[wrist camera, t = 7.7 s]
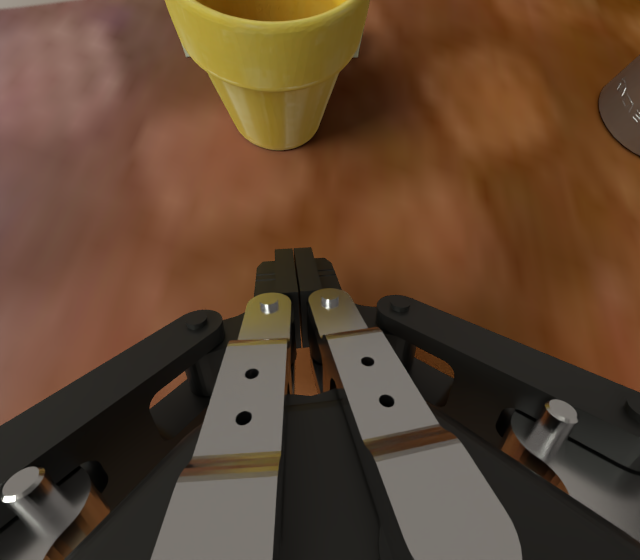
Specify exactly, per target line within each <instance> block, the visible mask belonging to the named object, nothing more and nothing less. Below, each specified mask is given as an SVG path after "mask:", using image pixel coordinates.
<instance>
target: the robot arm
mask: <svg viewBox="0 0 640 560" xmlns="http://www.w3.org/2000/svg"><path fill="white" fill-rule="evenodd" d="M599 110H600V113H601V116H602V119H603V121H604V123H605V125H606V127H607V128H608V130H609V131H610V132H611V133H612V135H613V136H614V137H615V138H616V139H617V140H618V141H619V142H620V143H621V144H622V145H624V146H625V147H626V148H628V149H629V150H631V151H632V152H634V153H636V154H638V155H640V55H639V56H638V57H637V58H636V59H634V60H633V61H632V62H631V63H630V64H629V65H628V66H627V67H626V68H625V69H623V70H622V71H621V72H620V73H619V74H618V75H617V76H616V77H615V78H613V79H612V80H611V81H610V82H609V83H608V84H607V85H606V86H605V87H604V88H603V90H602V92H601V93H600V98H599ZM300 328H301V336H302V344H303V348H305V347H309V348H310V363H311V368H312V372H313V376H314V380H315V384H316V388H317V392H318V395H314V396H304V395H295V359H296V355H297V353H296V348H301V336H300ZM416 346H417V347H419V348H420V349H422V350H424V351H426V352H428V353H430V354H432V355H434V356H436V357H438V358H440V359H442V360H444V361H445V362H447V363H448V364H449V365H450V366H451V367H452V369H453V371H454V375H455V376H454V379H453V378H451V377H450V376H448V375H446V374H444V373H442V372H440V371H439V370H437V369H435V368H433V367H431V366H429V365H427V364H426V363H424V362H422V361H420V360H418V359H416V358H415V357H414V356H415V350H416ZM184 371H185V373H186V376H187V380H186V381H184V382H183V383H182V384H181V385H179V386H178V387H177V388H176V389H174V390H173V391H172V392H171V393H169V394H168V395H167V396H166V397H164V398H163V399H162V400H161V401H159V402H158V403H157V404H156V405H154V406H153V407H152V408H151V409H149V406H150V402H151V400H152V398H153V397H154V395H155V394H156V393H157V392H158V391H159V390H160V389H162V388H163V387H164V386H166V385H167V384H168V383H170V382H171V381H172V380H173V379H175V378H176V377H177V376H179V375H180V374H181V373H183V372H184ZM0 560H640V393H639V392H637V391H635V390H632V389H630V388H627V387H625V386H623V385H620V384H618V383H615V382H613V381H610V380H608V379H606V378H603V377H601V376H598V375H596V374H593V373H591V372H589V371H586V370H584V369H581V368H579V367H577V366H574V365H572V364H569V363H567V362H564V361H562V360H560V359H557V358H555V357H552V356H550V355H547V354H545V353H543V352H540V351H538V350H535V349H533V348H531V347H528V346H526V345H523V344H521V343H518V342H516V341H514V340H511V339H509V338H506V337H504V336H501V335H499V334H497V333H494V332H492V331H489V330H487V329H485V328H482V327H480V326H477V325H475V324H472V323H470V322H468V321H465V320H463V319H460V318H458V317H455V316H453V315H451V314H448V313H446V312H443V311H441V310H438V309H436V308H434V307H431V306H429V305H426V304H424V303H422V302H419V301H417V300H414V299H412V298H409V297H406V296H401V295H390V296H385V297H383V298H381V299H380V300H379V301H378V303H377V307H369V306H361V305H358V304H355V303H354V302H353V300H352V299H351V297H350V295H349V294H348V293H346V292H345V291H342V289H341V287H340V284H339V282H338V279H337V276H336V274H335V271H334V269H333V266H332V263H331V262H329V261H328V260H327V259H325V258H314V256H313V252H312V249H311V247H309V248H294V257H293V250H292V249H276V250H275V261H268V262H262V263H261V264H260V265H259V266H258V267H257V273H256V282H255V292H254V298H252V299H251V300H250V301H249V302H248V304H247V307H246V311H245V313H243V314H241V315H239V316H236V317H233V318H229V319H226V320H222V316H221V315H220V314H219V313H218V312H216V311H212V310H198V311H193V312H190V313H188V314H185V315H183V316H182V317H180V318H178V319H177V320H175V321H173V322H172V323H170V324H168V325H167V326H165V327H163V328H162V329H160V330H158V331H157V332H155V333H153V334H152V335H150V336H148V337H147V338H145V339H144V340H142V341H140V342H139V343H137V344H135V345H134V346H132V347H130V348H129V349H127V350H125V351H124V352H122V353H120V354H119V355H117V356H115V357H114V358H112V359H110V360H109V361H107V362H105V363H104V364H102V365H101V366H99V367H97V368H96V369H94V370H92V371H91V372H89V373H87V374H86V375H84V376H82V377H81V378H79V379H77V380H76V381H74V382H72V383H71V384H69V385H67V386H66V387H64V388H62V389H61V390H59V391H58V392H56V393H54V394H53V395H51V396H49V397H48V398H46V399H44V400H43V401H41V402H39V403H38V404H36V405H34V406H33V407H31V408H29V409H28V410H26V411H24V412H23V413H21V414H19V415H18V416H16V417H15V418H13V419H11V420H10V421H8V422H6V423H5V424H3V425H1V426H0Z"/></svg>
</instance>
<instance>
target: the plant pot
mask: <svg viewBox="0 0 640 560" xmlns="http://www.w3.org/2000/svg"><path fill="white" fill-rule="evenodd" d="M165 2H166V5H167V8H168V11H169V13H170V16H171V18H172V21H173V23H174V26H175V29H176V31H177V33H178V36H179V38H180V41H181V43H182V44H183V46H184V48H185V50H186V51H187V53H188V54H189V55H190V57H191V58H192V59H193V60H194V61H195V62H196V63H197V64H198V65H199V66H200V67H201V68H202V69H204V70H205V71H206V72H207V73H208V75H209V77H210V79H211V80H212V82H213V84H214V86H215V88H216V90H217V92H218V94H219V95H220V97H221V99H222V101H223V103H224V105H225V107H226V109H227V110H228V112H229V114H230V116H231V118H232V120H233V122H234V124H235V125H236V127H237V129H238V130H239V132H240V133H241V134H242V135H243V136H244V137H245V138H246V139H247V140H248V141H250V142H251V143H253V144H255V145H257V146H259V147H262V148H265V149H270V150H288V149H293V148H296V147H298V146H301V145H303V144H304V143H306V142H307V141H309V140H310V139H311V138H312V137H313V136H314V134H315V133H316V131H317V130H318V127H319V125H320V122H321V119H322V117H323V114H324V111H325V109H326V106H327V103H328V101H329V98H330V95H331V93H332V90H333V88H334V85H335V82H336V80H337V77H338V75H339V72H340V71H341V70H342V69H343V68H344V67H345V66H346V65H347V64H348V63H349V62H350V60H351V59H352V58H353V56H354V54H355V53H356V51H357V49H358V46H359V43H360V40H361V36H362V32H363V29H364V25H365V21H366V16H367V12H368V7H369V2H370V0H165Z"/></svg>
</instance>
